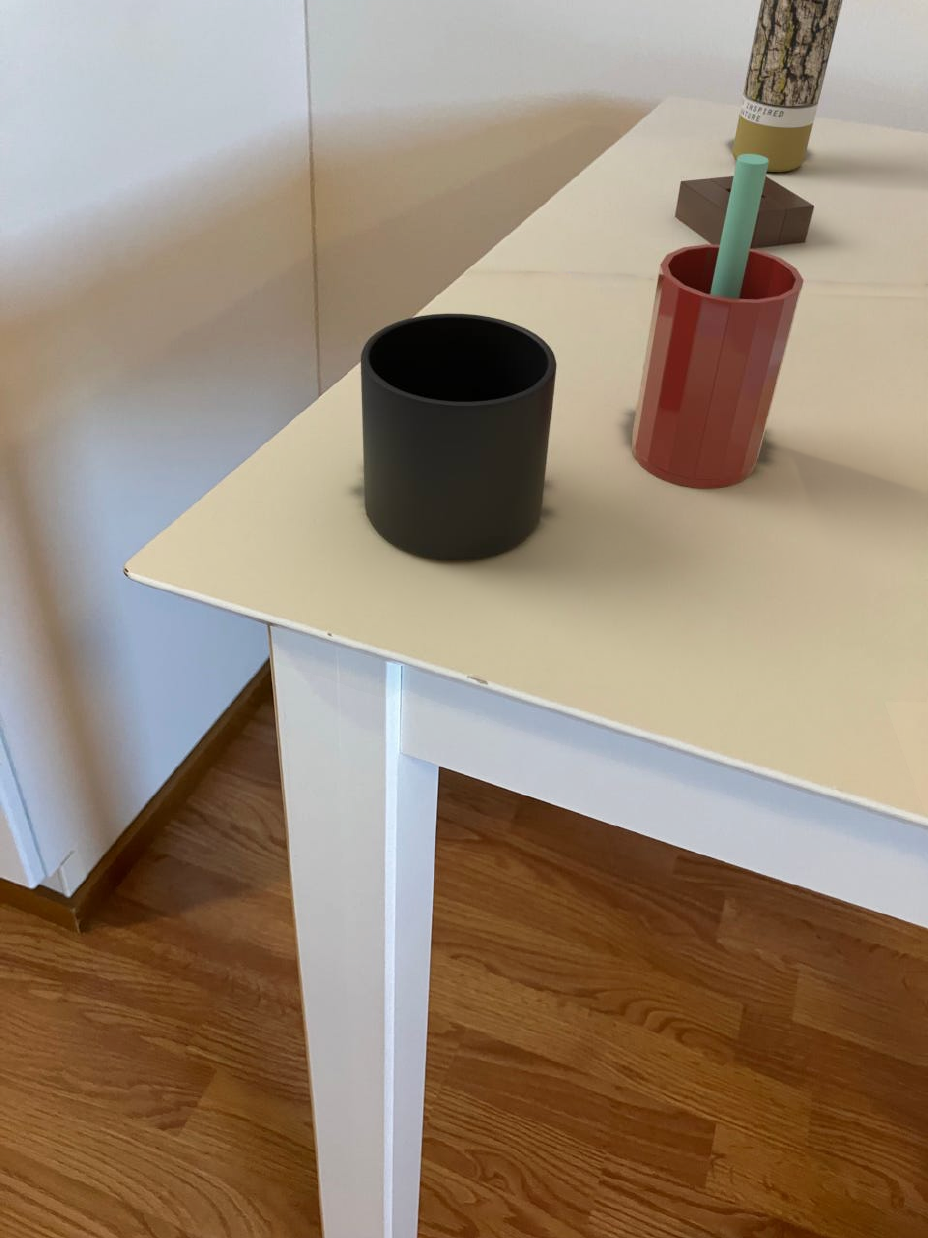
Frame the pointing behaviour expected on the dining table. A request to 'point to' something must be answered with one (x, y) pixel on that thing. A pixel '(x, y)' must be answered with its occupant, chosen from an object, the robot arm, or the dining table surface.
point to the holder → (776, 219)
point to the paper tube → (785, 80)
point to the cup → (712, 367)
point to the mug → (455, 433)
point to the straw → (739, 225)
